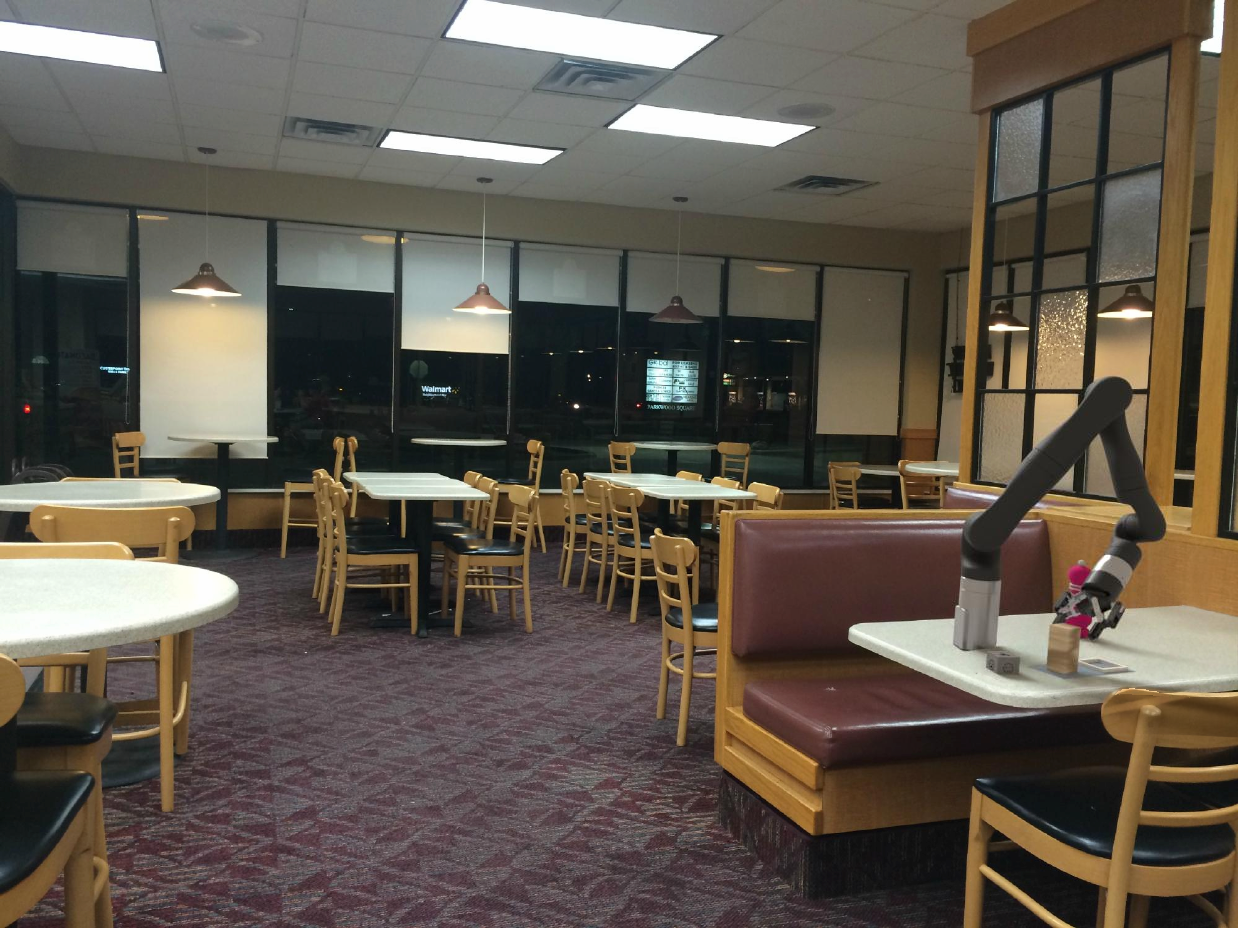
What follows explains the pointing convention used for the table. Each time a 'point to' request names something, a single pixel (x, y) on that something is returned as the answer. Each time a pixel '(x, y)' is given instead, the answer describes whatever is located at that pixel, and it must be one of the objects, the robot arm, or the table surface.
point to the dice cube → (1002, 662)
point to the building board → (1088, 668)
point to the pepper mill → (1077, 579)
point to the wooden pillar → (1063, 648)
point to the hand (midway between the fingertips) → (1072, 633)
